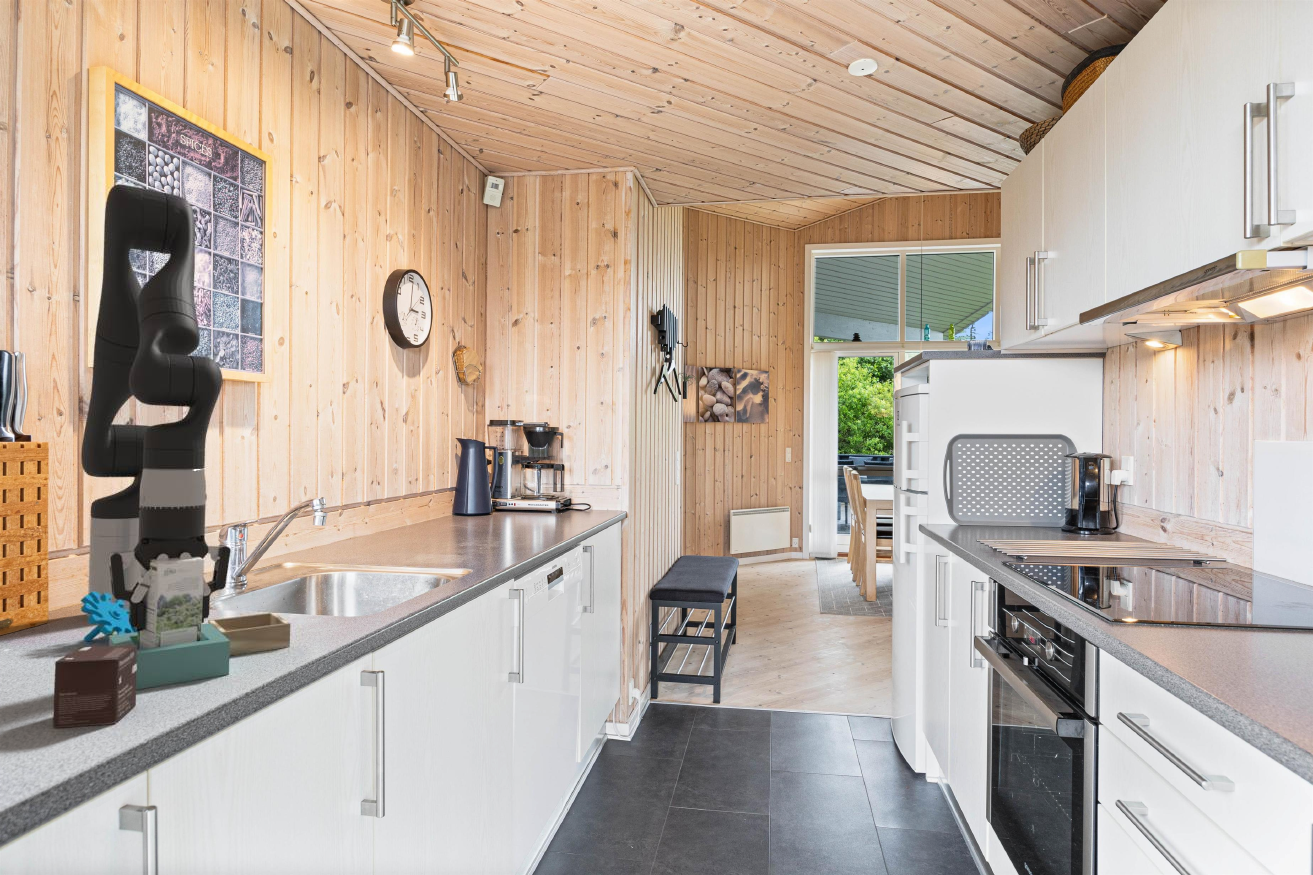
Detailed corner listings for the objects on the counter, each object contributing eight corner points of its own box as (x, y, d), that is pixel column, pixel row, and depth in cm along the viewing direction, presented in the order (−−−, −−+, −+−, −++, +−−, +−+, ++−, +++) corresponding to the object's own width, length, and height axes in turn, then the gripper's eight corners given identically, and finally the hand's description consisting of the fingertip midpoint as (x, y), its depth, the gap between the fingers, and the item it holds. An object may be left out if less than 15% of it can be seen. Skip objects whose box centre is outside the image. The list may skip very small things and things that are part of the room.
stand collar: (207, 642, 115) (208, 620, 115) (272, 633, 121) (273, 612, 121) (221, 656, 108) (222, 632, 108) (289, 646, 114) (290, 623, 114)
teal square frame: (108, 668, 102) (109, 635, 102) (209, 653, 110) (210, 623, 110) (119, 692, 93) (120, 655, 93) (228, 674, 101) (229, 640, 101)
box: (115, 725, 83) (118, 658, 83) (50, 729, 81) (53, 661, 81) (137, 706, 88) (138, 643, 88) (76, 709, 87) (78, 646, 87)
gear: (118, 639, 110) (74, 589, 111) (85, 668, 109) (41, 618, 110) (162, 631, 121) (122, 585, 121) (132, 657, 120) (92, 612, 121)
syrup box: (182, 655, 105) (185, 551, 105) (201, 663, 102) (204, 556, 102) (135, 664, 100) (138, 556, 101) (154, 673, 97) (157, 561, 97)
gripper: (226, 498, 109) (223, 613, 109) (104, 501, 99) (100, 628, 99) (239, 502, 103) (236, 624, 103) (110, 506, 94) (106, 640, 94)
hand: (169, 625), depth 101 cm, fingers closed on syrup box, 6 cm apart
